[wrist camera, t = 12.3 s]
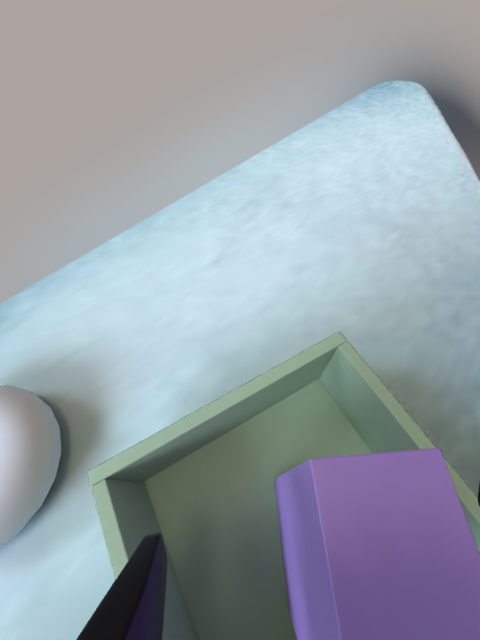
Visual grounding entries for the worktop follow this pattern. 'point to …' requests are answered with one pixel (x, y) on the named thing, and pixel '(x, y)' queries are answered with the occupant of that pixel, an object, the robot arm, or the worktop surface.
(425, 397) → the worktop surface
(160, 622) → the robot arm
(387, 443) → the green square tray
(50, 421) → the donut
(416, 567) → the purple rectangular block
